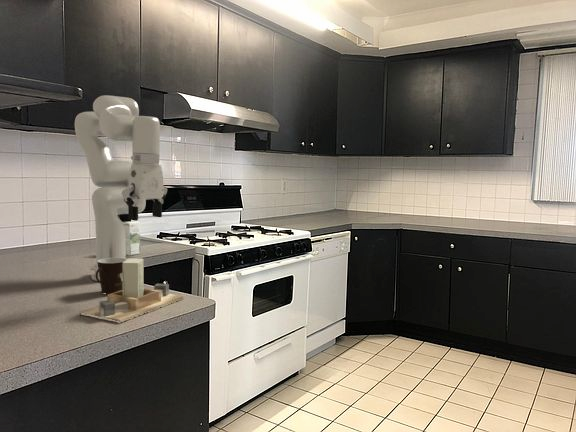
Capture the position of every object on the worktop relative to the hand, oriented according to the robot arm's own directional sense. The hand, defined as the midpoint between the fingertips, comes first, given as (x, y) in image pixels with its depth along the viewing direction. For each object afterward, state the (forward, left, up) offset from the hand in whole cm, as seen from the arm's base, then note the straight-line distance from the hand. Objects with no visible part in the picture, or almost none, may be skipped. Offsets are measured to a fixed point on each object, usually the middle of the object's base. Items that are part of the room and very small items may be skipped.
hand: (145, 218), depth 139 cm
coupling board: (+4, -9, -24) cm, 26 cm away
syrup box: (-53, +50, -24) cm, 76 cm away
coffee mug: (-13, -2, -24) cm, 27 cm away
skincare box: (+4, -10, -23) cm, 25 cm away
